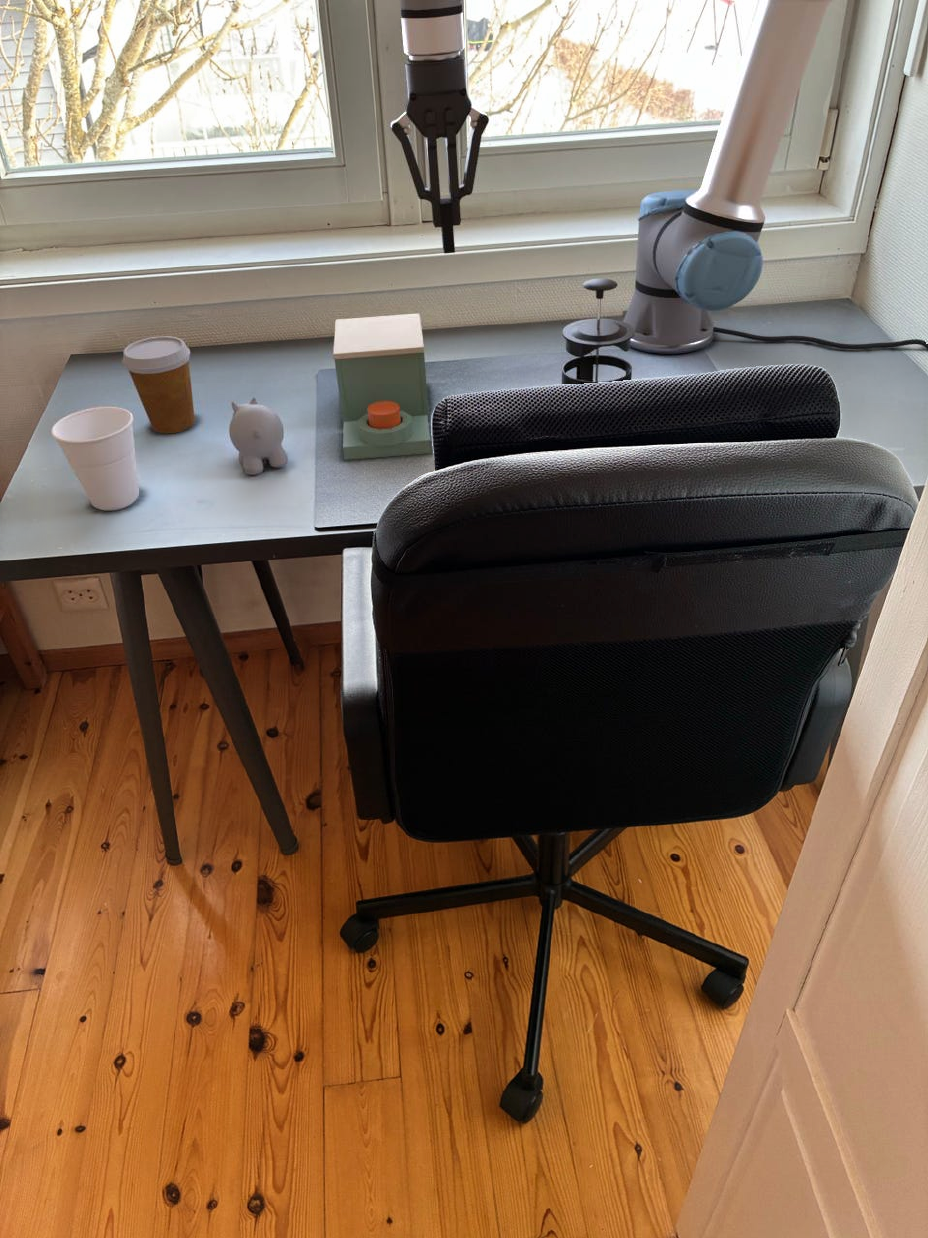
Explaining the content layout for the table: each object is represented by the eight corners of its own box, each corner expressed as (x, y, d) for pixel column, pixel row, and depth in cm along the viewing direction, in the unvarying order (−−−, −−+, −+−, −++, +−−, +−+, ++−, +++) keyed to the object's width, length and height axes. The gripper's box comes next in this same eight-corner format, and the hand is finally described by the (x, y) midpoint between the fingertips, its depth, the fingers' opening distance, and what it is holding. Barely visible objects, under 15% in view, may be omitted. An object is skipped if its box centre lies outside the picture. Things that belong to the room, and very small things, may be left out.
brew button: (400, 415, 132) (398, 399, 131) (401, 429, 128) (399, 413, 127) (369, 417, 132) (367, 402, 130) (369, 431, 128) (367, 415, 127)
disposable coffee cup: (131, 424, 142) (109, 347, 135) (188, 405, 147) (170, 329, 139) (158, 445, 136) (137, 365, 129) (217, 424, 141) (199, 346, 134)
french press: (639, 465, 124) (652, 291, 110) (570, 474, 123) (574, 299, 109) (612, 427, 134) (621, 261, 120) (548, 435, 133) (549, 269, 119)
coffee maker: (429, 420, 138) (424, 349, 132) (343, 427, 138) (334, 356, 131) (425, 386, 148) (420, 318, 142) (345, 392, 148) (336, 324, 141)
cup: (61, 507, 123) (33, 430, 116) (121, 475, 129) (98, 400, 123) (110, 527, 118) (85, 448, 112) (170, 492, 125) (149, 416, 118)
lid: (424, 352, 131) (423, 346, 130) (333, 359, 131) (333, 353, 130) (419, 318, 142) (419, 312, 141) (336, 324, 141) (335, 319, 141)
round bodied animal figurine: (274, 434, 137) (264, 379, 132) (295, 469, 128) (284, 411, 123) (225, 445, 135) (213, 389, 130) (243, 481, 126) (230, 423, 121)
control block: (428, 427, 136) (426, 401, 134) (431, 455, 130) (429, 428, 127) (345, 434, 136) (342, 408, 134) (344, 462, 129) (340, 435, 127)
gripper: (483, 46, 120) (491, 238, 135) (381, 55, 120) (401, 246, 134) (490, 54, 114) (498, 253, 129) (383, 63, 114) (403, 262, 128)
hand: (448, 249), depth 131 cm, fingers closed
